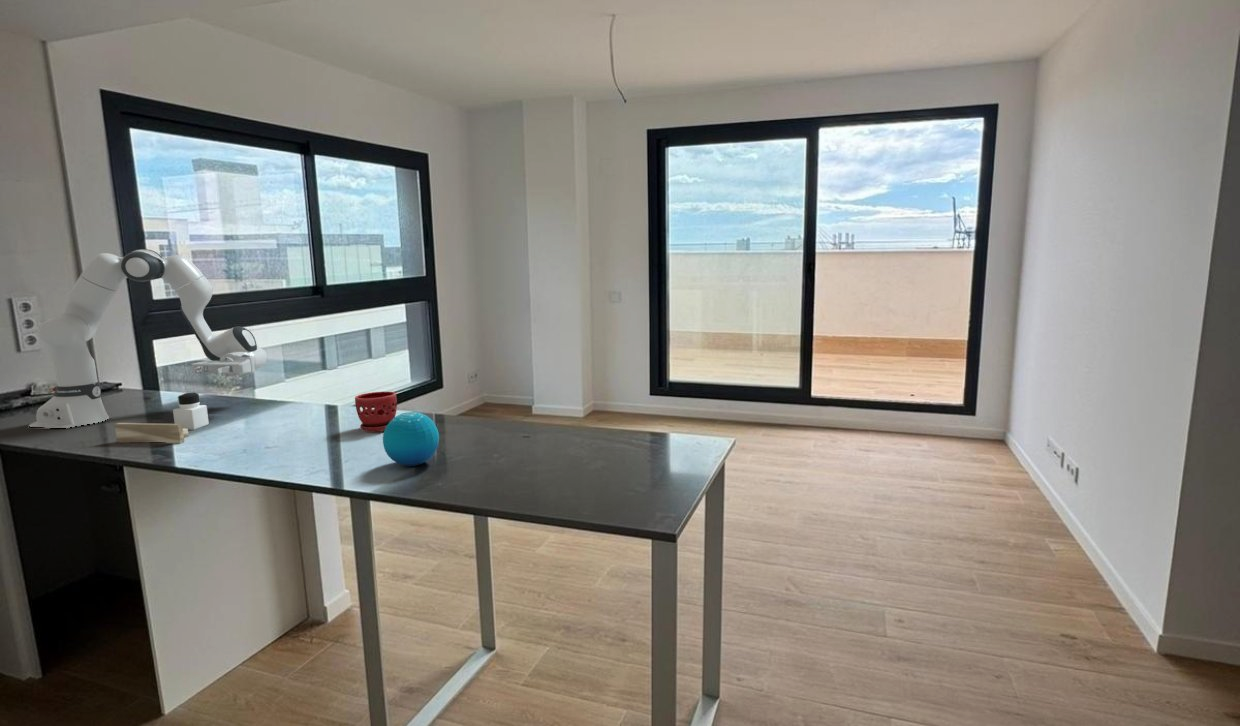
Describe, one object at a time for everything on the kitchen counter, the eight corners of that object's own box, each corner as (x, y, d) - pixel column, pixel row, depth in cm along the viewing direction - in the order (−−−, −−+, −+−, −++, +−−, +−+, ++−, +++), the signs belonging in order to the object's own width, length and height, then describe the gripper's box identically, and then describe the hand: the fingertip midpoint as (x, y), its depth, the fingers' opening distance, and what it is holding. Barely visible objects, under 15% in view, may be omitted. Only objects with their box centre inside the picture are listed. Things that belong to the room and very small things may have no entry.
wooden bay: (138, 435, 213) (136, 417, 212) (199, 436, 211) (197, 418, 210) (117, 442, 205) (114, 424, 204) (180, 443, 203) (178, 425, 202)
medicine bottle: (209, 424, 225) (205, 391, 223) (194, 430, 218) (189, 395, 216) (190, 424, 226) (186, 391, 224) (174, 429, 219) (170, 395, 217)
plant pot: (405, 424, 223) (403, 390, 221) (385, 434, 210) (382, 399, 208) (371, 423, 225) (368, 389, 223) (349, 433, 212) (346, 398, 210)
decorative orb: (431, 453, 190) (428, 403, 187) (447, 466, 177) (444, 414, 175) (379, 462, 182) (375, 411, 179) (392, 477, 170) (387, 422, 167)
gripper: (206, 356, 242) (177, 362, 229) (256, 356, 240) (231, 362, 227) (208, 372, 243) (180, 379, 230) (258, 372, 241) (233, 380, 228)
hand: (206, 371), depth 228 cm, fingers open, 7 cm apart
